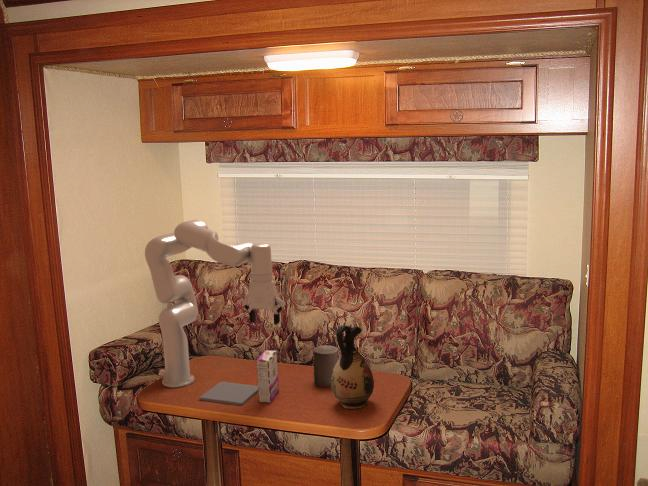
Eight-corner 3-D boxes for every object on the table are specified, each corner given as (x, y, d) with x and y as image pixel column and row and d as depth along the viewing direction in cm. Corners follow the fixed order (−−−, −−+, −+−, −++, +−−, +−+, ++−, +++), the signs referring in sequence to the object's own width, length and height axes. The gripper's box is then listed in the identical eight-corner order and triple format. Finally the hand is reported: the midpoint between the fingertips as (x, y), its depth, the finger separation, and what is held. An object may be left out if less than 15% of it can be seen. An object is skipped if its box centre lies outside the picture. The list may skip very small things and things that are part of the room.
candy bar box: (266, 390, 236) (264, 349, 233) (279, 391, 235) (277, 350, 232) (258, 402, 225) (255, 360, 222) (271, 403, 224) (268, 360, 221)
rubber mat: (199, 399, 229) (199, 397, 229) (221, 383, 244) (221, 381, 244) (242, 405, 223) (241, 403, 222) (261, 388, 237) (261, 386, 237)
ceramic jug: (348, 391, 231) (346, 315, 227) (382, 401, 222) (381, 321, 217) (320, 407, 219) (316, 326, 214) (354, 418, 209) (352, 334, 204)
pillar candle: (310, 385, 239) (309, 348, 236) (319, 376, 248) (318, 340, 245) (333, 388, 235) (332, 351, 233) (342, 379, 244) (341, 343, 242)
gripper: (236, 279, 222) (239, 324, 225) (279, 280, 216) (281, 327, 219) (245, 274, 229) (248, 318, 232) (287, 276, 223) (290, 321, 225)
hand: (264, 323), depth 225 cm, fingers open, 9 cm apart
